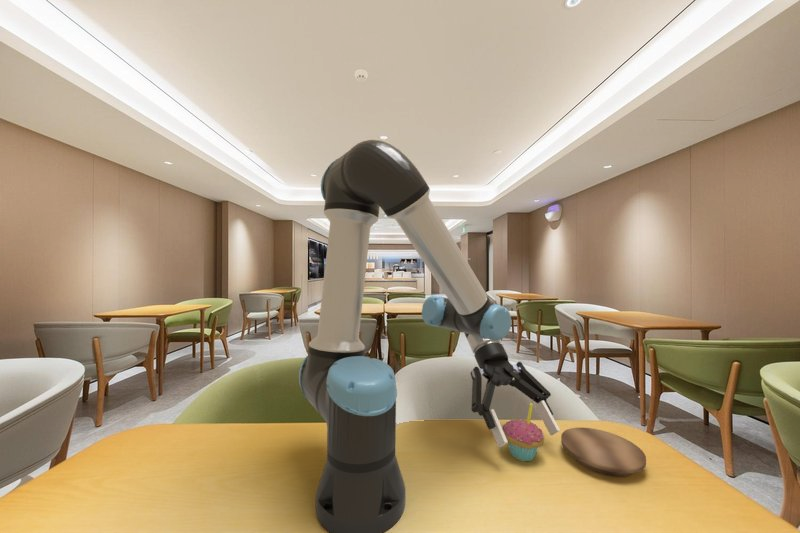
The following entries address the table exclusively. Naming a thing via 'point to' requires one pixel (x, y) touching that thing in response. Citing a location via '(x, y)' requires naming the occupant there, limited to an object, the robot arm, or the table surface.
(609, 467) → the brown plate
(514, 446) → the cupcake
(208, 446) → the table surface
